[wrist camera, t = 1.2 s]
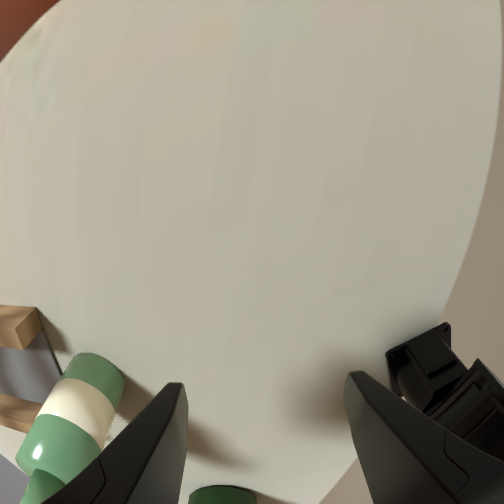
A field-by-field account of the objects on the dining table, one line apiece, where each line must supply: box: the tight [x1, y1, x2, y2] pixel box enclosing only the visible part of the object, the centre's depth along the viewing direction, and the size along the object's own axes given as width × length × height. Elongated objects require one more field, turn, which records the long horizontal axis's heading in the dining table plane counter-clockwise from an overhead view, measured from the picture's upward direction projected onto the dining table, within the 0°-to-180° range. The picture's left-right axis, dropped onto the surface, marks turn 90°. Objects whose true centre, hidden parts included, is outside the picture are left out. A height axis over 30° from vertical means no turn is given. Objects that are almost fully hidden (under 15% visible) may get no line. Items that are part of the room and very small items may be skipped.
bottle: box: [15, 353, 125, 504], centre depth 16 cm, size 6×6×17 cm
